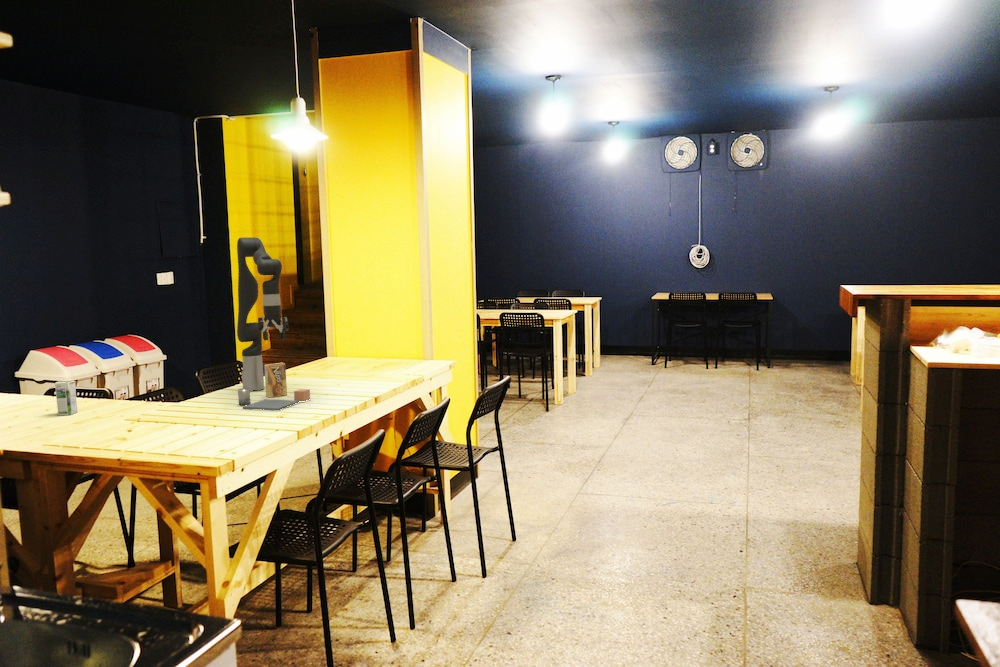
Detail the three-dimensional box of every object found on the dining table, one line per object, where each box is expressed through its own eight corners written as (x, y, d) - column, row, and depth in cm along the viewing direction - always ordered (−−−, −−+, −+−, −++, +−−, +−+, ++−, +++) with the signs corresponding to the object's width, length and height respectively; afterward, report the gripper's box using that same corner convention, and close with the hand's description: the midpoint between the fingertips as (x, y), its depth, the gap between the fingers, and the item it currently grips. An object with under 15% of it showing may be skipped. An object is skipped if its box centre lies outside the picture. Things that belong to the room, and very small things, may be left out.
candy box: (283, 394, 357) (281, 362, 355) (287, 395, 354) (285, 363, 352) (265, 396, 352) (263, 364, 350) (269, 398, 348) (267, 365, 347)
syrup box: (57, 415, 324) (54, 382, 322) (65, 412, 329) (62, 380, 328) (70, 415, 324) (67, 382, 322) (78, 412, 329) (75, 379, 328)
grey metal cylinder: (236, 405, 333) (235, 390, 332) (243, 403, 338) (242, 388, 337) (245, 406, 332) (244, 390, 331) (252, 403, 336) (251, 388, 336)
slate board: (242, 409, 326) (242, 406, 326) (265, 401, 341) (264, 399, 341) (278, 410, 320) (278, 408, 320) (299, 402, 335) (299, 400, 335)
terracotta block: (294, 402, 338) (293, 391, 337) (300, 399, 343) (300, 389, 342) (304, 402, 336) (303, 391, 336) (310, 400, 341) (309, 389, 340)
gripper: (290, 303, 335) (292, 339, 337) (263, 303, 339) (265, 339, 341) (280, 305, 328) (283, 341, 330) (253, 305, 332) (255, 341, 334)
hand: (274, 340), depth 335 cm, fingers open, 8 cm apart
